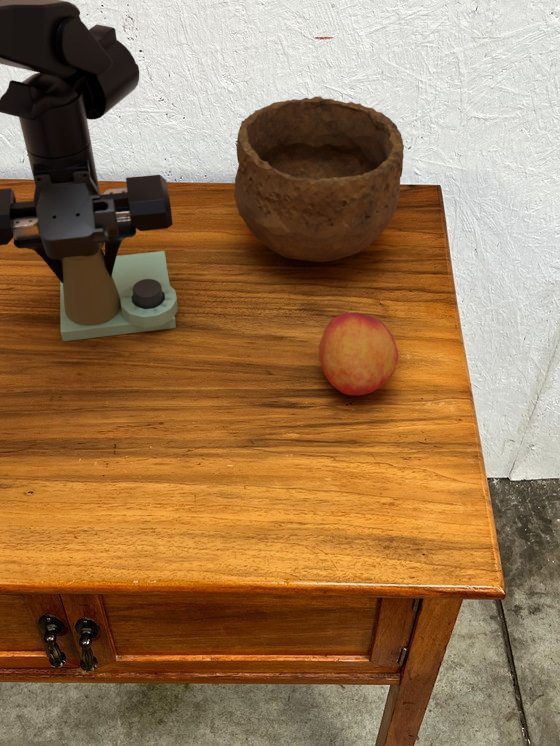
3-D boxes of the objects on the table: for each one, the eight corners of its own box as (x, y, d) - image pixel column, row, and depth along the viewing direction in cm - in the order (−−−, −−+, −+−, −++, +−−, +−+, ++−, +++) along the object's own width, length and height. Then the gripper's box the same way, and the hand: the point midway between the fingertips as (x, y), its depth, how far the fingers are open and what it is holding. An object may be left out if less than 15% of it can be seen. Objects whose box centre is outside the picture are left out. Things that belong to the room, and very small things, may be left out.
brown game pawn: (95, 280, 87) (77, 196, 79) (133, 303, 84) (118, 218, 76) (53, 308, 84) (30, 223, 76) (90, 333, 81) (71, 247, 73)
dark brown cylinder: (135, 311, 82) (133, 298, 80) (133, 292, 84) (131, 280, 82) (164, 307, 82) (162, 295, 81) (161, 289, 84) (159, 277, 83)
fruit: (402, 365, 81) (413, 307, 75) (379, 419, 75) (389, 362, 70) (330, 344, 82) (336, 286, 77) (303, 396, 77) (307, 338, 71)
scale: (62, 347, 82) (57, 327, 79) (62, 271, 90) (57, 250, 88) (181, 333, 83) (178, 312, 81) (169, 259, 92) (167, 239, 90)
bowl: (391, 205, 100) (406, 96, 90) (390, 300, 88) (408, 186, 77) (247, 195, 102) (245, 86, 91) (225, 287, 89) (220, 172, 78)
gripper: (-60, 202, 63) (-11, 341, 74) (171, 181, 66) (184, 318, 77) (-47, 134, 71) (-5, 269, 82) (159, 117, 73) (173, 251, 84)
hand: (86, 278), depth 81 cm, fingers closed on brown game pawn, 4 cm apart
